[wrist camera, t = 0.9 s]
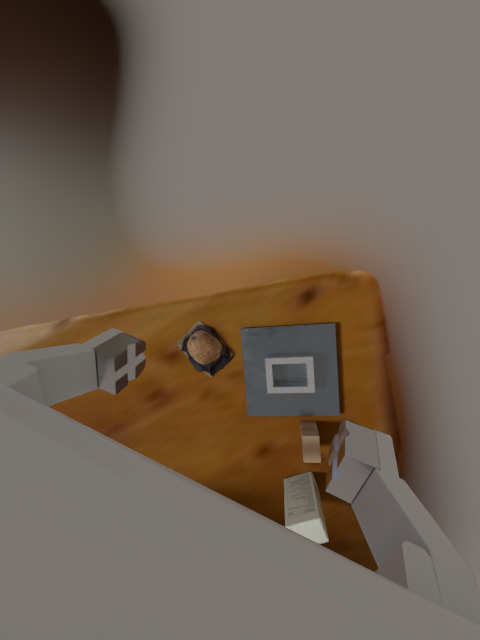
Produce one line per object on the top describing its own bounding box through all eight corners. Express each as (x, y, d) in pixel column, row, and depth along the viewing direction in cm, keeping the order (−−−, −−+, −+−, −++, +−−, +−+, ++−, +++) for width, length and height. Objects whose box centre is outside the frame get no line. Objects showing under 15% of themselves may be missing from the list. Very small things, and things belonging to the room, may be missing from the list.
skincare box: (290, 496, 57) (292, 551, 45) (283, 477, 57) (282, 527, 45) (320, 489, 56) (330, 543, 44) (313, 470, 56) (320, 518, 44)
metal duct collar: (338, 413, 54) (342, 421, 50) (248, 413, 57) (245, 421, 53) (334, 322, 52) (337, 324, 49) (241, 328, 55) (238, 330, 52)
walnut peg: (317, 444, 55) (320, 462, 49) (301, 444, 56) (303, 462, 50) (315, 420, 55) (319, 436, 49) (300, 420, 55) (302, 435, 49)
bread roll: (175, 344, 59) (168, 347, 55) (202, 316, 57) (196, 318, 54) (210, 380, 58) (204, 386, 55) (237, 353, 57) (234, 357, 53)
